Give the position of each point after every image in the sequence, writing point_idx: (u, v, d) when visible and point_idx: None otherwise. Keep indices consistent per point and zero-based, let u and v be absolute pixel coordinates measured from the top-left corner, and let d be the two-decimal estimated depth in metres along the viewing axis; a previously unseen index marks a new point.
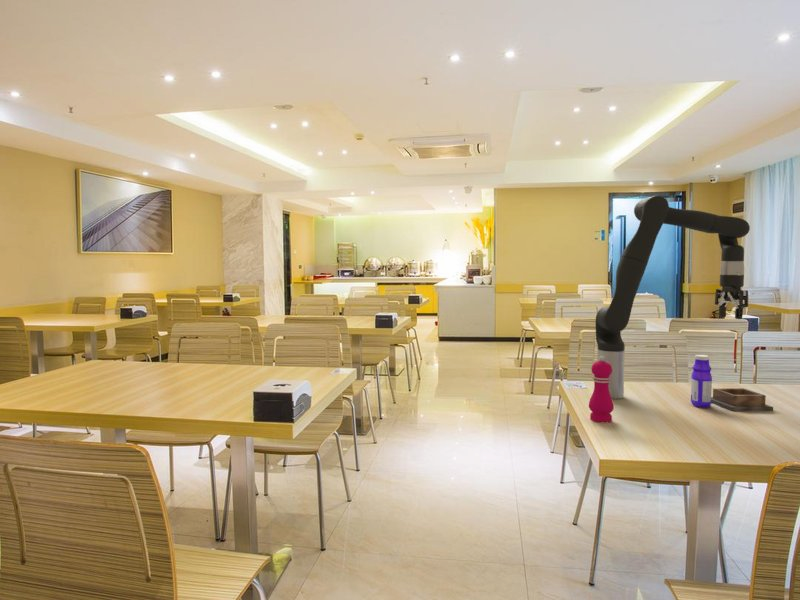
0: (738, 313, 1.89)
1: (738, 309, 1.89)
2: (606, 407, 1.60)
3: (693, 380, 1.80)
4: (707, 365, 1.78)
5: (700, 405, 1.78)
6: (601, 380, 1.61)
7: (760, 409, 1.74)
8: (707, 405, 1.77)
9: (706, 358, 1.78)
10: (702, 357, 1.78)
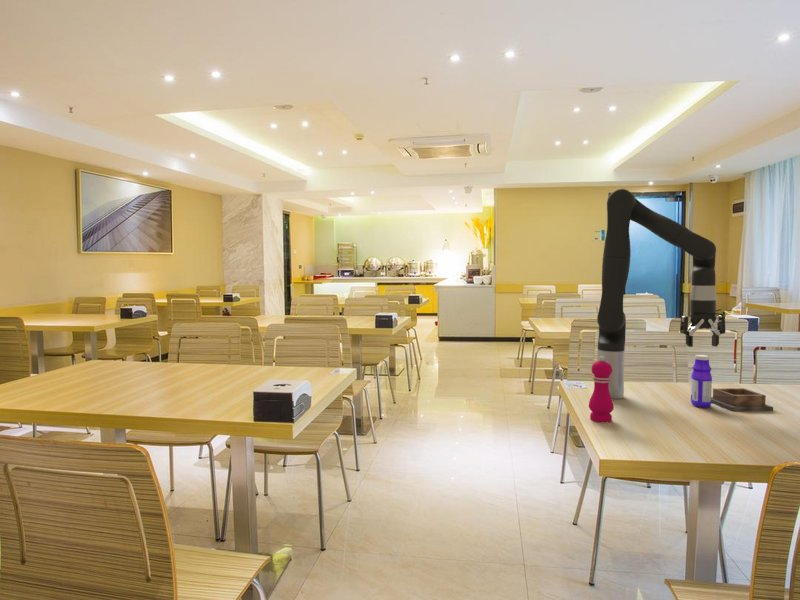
0: (717, 340, 1.79)
1: (717, 336, 1.79)
2: (606, 407, 1.60)
3: (693, 380, 1.80)
4: (707, 365, 1.78)
5: (700, 405, 1.78)
6: (601, 380, 1.61)
7: (760, 409, 1.74)
8: (707, 405, 1.77)
9: (706, 358, 1.78)
10: (702, 357, 1.78)
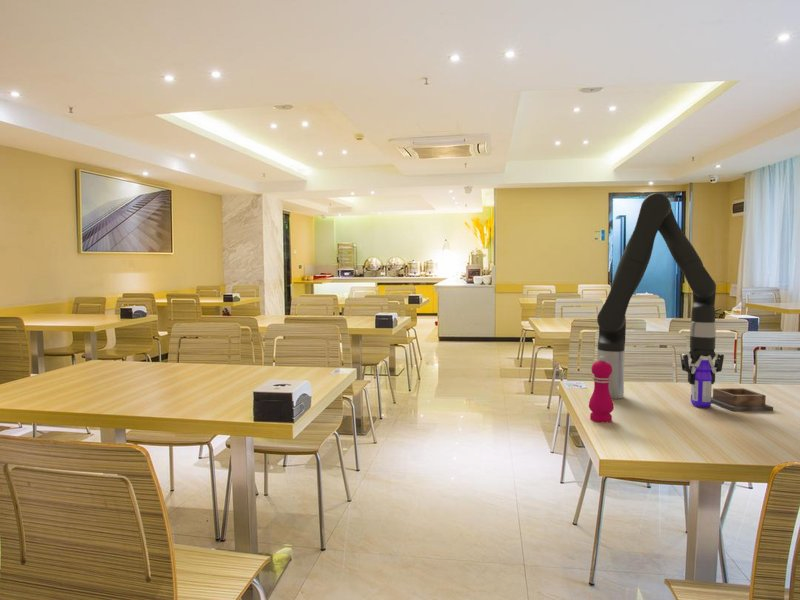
0: (714, 378, 1.79)
1: (714, 374, 1.79)
2: (606, 407, 1.60)
3: None
4: (707, 365, 1.78)
5: (700, 405, 1.78)
6: (601, 380, 1.61)
7: (760, 409, 1.74)
8: (707, 405, 1.77)
9: (706, 358, 1.78)
10: None
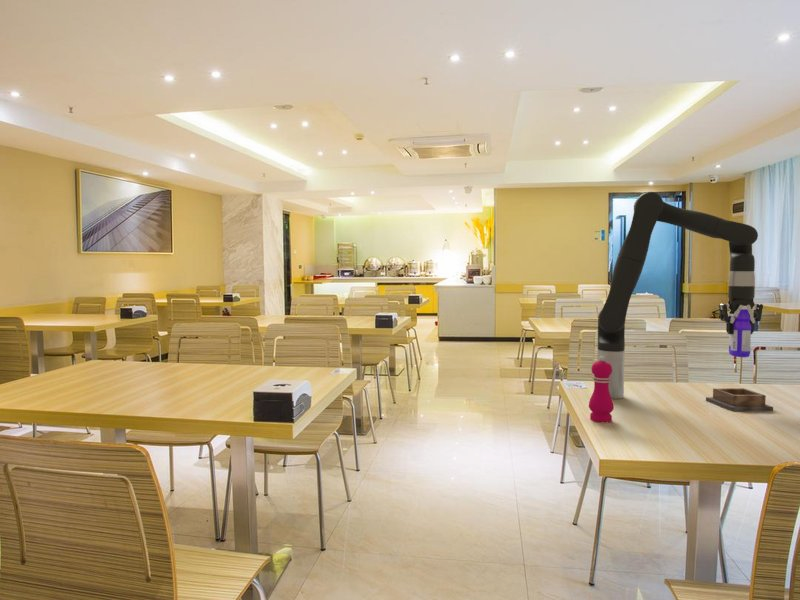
0: (752, 328, 1.79)
1: (752, 324, 1.79)
2: (606, 407, 1.60)
3: None
4: (746, 314, 1.77)
5: (739, 354, 1.77)
6: (601, 380, 1.61)
7: (760, 409, 1.74)
8: (746, 354, 1.76)
9: (745, 307, 1.77)
10: None
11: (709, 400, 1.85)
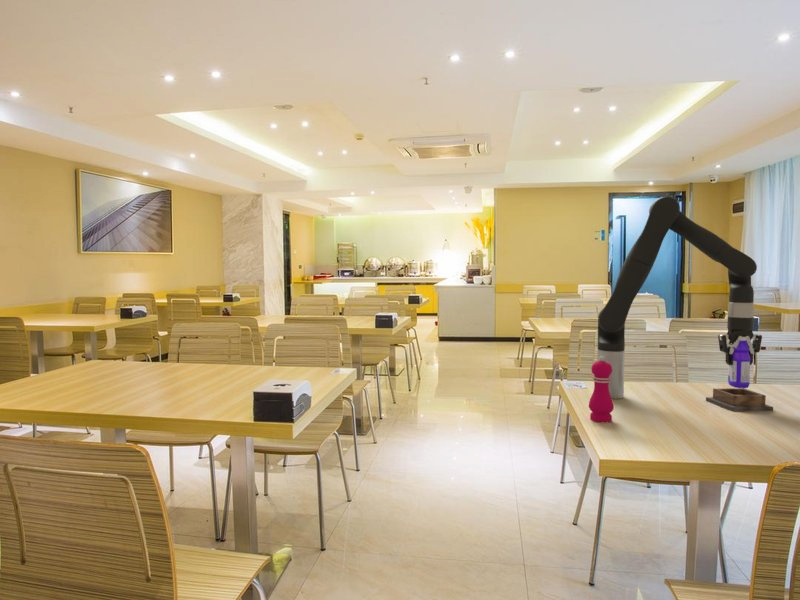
0: (751, 359, 1.79)
1: (752, 355, 1.79)
2: (606, 407, 1.60)
3: None
4: (745, 345, 1.77)
5: (738, 385, 1.78)
6: (601, 380, 1.61)
7: (760, 409, 1.74)
8: (745, 385, 1.77)
9: (744, 338, 1.77)
10: None
11: (709, 400, 1.85)
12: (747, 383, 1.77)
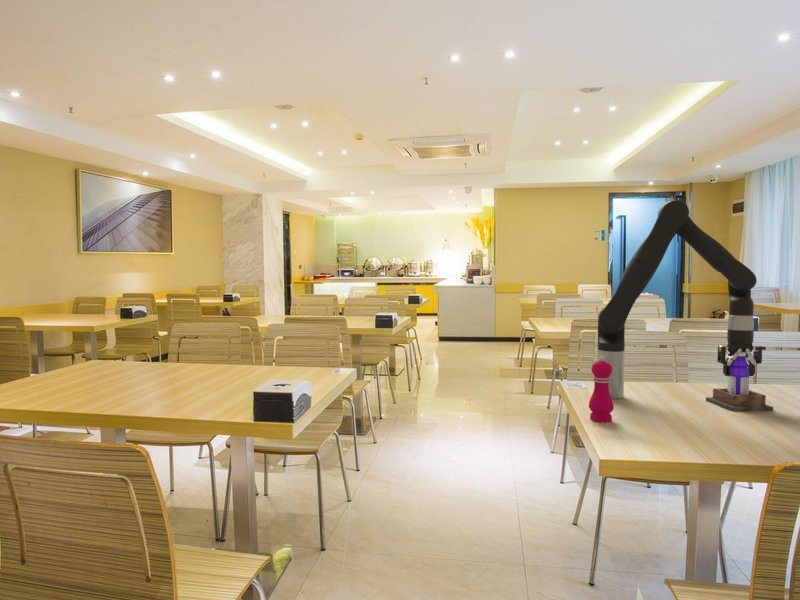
0: (754, 370, 1.80)
1: (754, 366, 1.79)
2: (606, 407, 1.60)
3: (730, 376, 1.80)
4: (744, 361, 1.78)
5: None
6: (601, 380, 1.61)
7: (760, 409, 1.74)
8: None
9: (743, 354, 1.78)
10: None
11: (709, 400, 1.85)
12: None
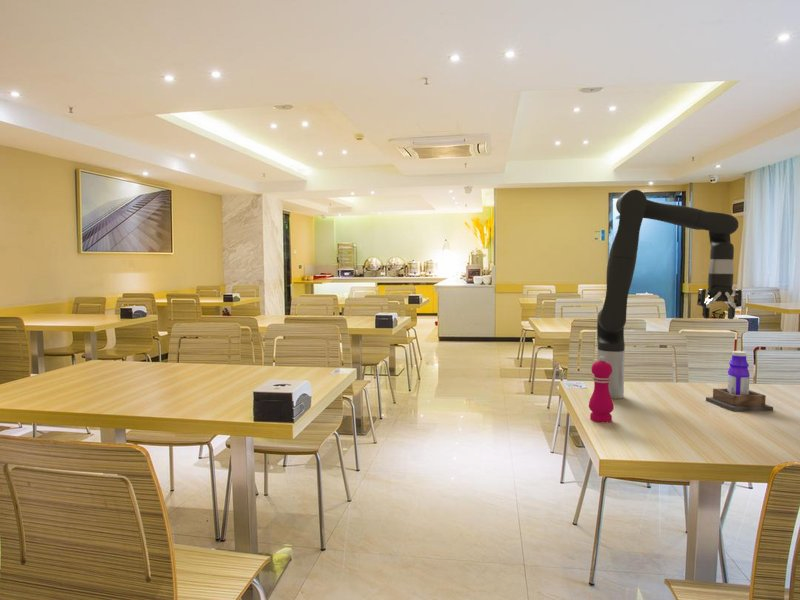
0: (733, 313, 1.85)
1: (734, 309, 1.85)
2: (606, 407, 1.60)
3: (730, 376, 1.80)
4: (745, 361, 1.78)
5: None
6: (601, 380, 1.61)
7: (760, 409, 1.74)
8: None
9: (744, 354, 1.78)
10: (740, 353, 1.78)
11: (709, 400, 1.85)
12: None
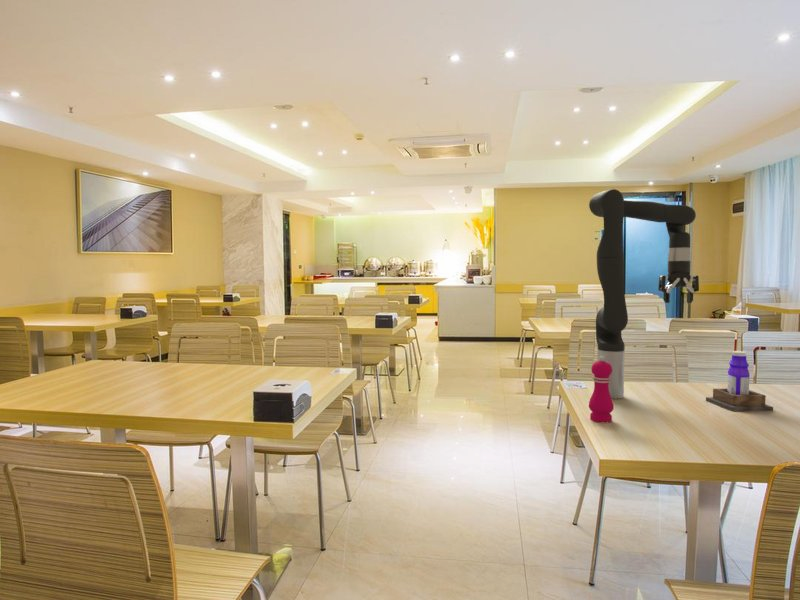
0: (692, 297, 1.99)
1: (692, 293, 1.99)
2: (606, 407, 1.60)
3: (730, 376, 1.80)
4: (745, 361, 1.78)
5: None
6: (601, 380, 1.61)
7: (760, 409, 1.74)
8: None
9: (744, 354, 1.78)
10: (740, 353, 1.78)
11: (709, 400, 1.85)
12: None
